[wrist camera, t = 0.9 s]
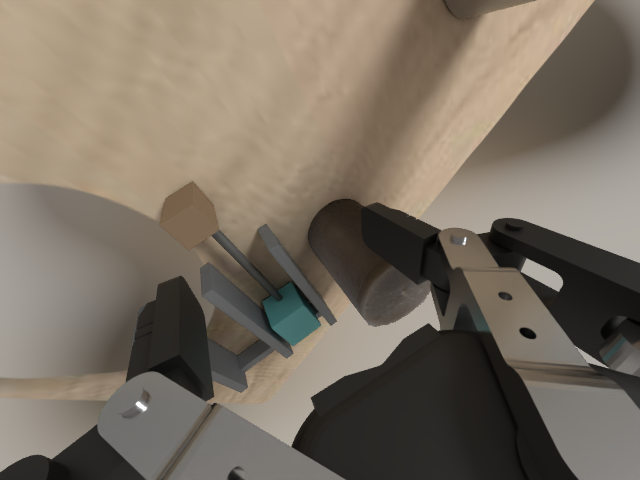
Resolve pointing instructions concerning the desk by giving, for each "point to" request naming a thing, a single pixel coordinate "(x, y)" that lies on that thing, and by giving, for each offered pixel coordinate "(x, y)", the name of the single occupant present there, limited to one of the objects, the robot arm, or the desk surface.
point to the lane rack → (251, 317)
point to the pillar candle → (362, 266)
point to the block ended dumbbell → (200, 223)
